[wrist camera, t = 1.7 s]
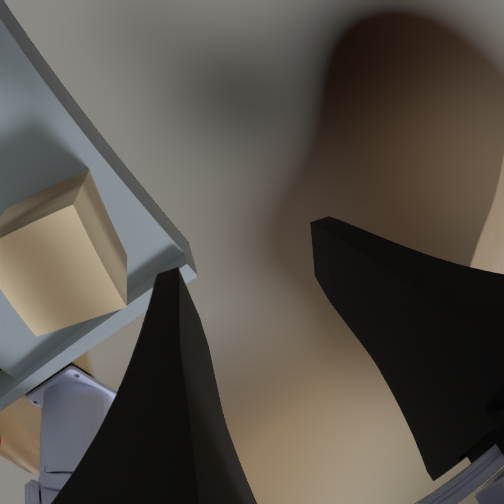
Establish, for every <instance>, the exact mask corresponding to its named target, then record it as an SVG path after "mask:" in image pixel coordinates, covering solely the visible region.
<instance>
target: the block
mask: <svg viewBox="0 0 504 504" xmlns="http://www.w3.org/2000/svg"><path fill="white" fill-rule="evenodd" d="M0 289H1V291H2V292H3V294H4V295H5V296H6V298H7V299H8V301H9V302H10V303H11V305H12V306H13V308H14V309H15V310H16V312H17V313H18V314H19V316H20V317H21V318H22V319H23V321H24V322H25V323H26V325H27V326H28V327H29V328H30V330H31V331H32V332H33V333H34V335H35V336H36V337H37V336H40V335H44V334H47V333H50V332H53V331H56V330H59V329H62V328H65V327H68V326H71V325H74V324H77V323H80V322H84V321H87V320H90V319H93V318H96V317H99V316H102V315H105V314H108V313H111V312H114V311H117V310H120V309H123V308H126V307H127V254H126V252H125V250H124V248H123V246H122V243H121V241H120V239H119V237H118V235H117V233H116V230H115V228H114V226H113V224H112V221H111V219H110V217H109V215H108V212H107V210H106V208H105V205H104V203H103V201H102V198H101V196H100V193H99V191H98V189H97V186H96V184H95V181H94V179H93V176H92V174H91V171H90V169H89V170H87V171H85V172H82V173H80V174H77V175H75V176H73V177H70V178H68V179H66V180H64V181H61V182H59V183H57V184H55V185H53V186H50V187H48V188H46V189H44V190H42V191H40V192H38V193H36V194H34V195H32V196H30V197H28V198H26V199H24V200H22V201H20V202H18V203H16V204H14V205H12V206H10V207H8V208H6V210H5V211H4V212H3V214H2V215H1V216H0Z"/></svg>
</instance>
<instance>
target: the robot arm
mask: <svg viewBox="0 0 504 504" xmlns="http://www.w3.org/2000/svg"><path fill="white" fill-rule="evenodd" d="M310 224H311V235H312V246H313V258H314V270H315V277H316V279H317V280H318V282H319V284H320V286H321V287H322V289H323V291H324V293H325V294H326V296H327V298H328V299H329V301H330V303H331V304H332V305H333V307H334V308H335V309H336V311H337V312H338V313H339V315H340V316H341V317H342V318H343V320H344V321H345V323H346V324H347V325H348V327H349V328H350V329H351V330H352V332H353V333H354V334H355V336H356V337H357V338H358V340H359V341H360V342H361V344H362V345H363V346H364V348H365V349H366V350H367V352H368V353H369V354H370V356H371V357H372V359H373V360H374V362H375V363H376V365H377V366H378V368H379V370H380V372H381V374H382V375H383V377H384V379H385V381H386V382H387V384H388V386H389V388H390V390H391V391H392V393H393V395H394V397H395V399H396V401H397V403H398V405H399V407H400V408H401V411H402V413H403V415H404V417H405V419H406V421H407V423H408V426H409V428H410V430H411V432H412V434H413V437H414V439H415V441H416V444H417V446H418V449H419V451H420V453H421V456H422V459H423V462H424V464H425V467H426V470H427V472H428V474H429V475H430V476H431V478H432V480H433V481H434V480H436V479H438V478H439V477H440V476H442V475H443V474H445V473H446V472H448V471H449V470H450V469H452V468H453V467H454V466H456V465H457V464H458V463H460V462H461V461H462V460H463V459H465V458H466V457H468V459H469V460H470V462H471V464H470V465H469V466H468V467H466V468H465V469H464V470H463V471H461V472H460V473H459V474H457V475H456V476H455V477H453V478H452V479H451V480H449V481H448V482H446V483H445V484H444V485H442V486H441V487H439V488H438V489H436V490H435V491H434V492H432V493H431V494H429V495H427V496H426V497H424V498H423V499H421V500H420V501H418V502H416V503H415V504H458V503H459V502H460V501H462V500H463V499H464V498H466V497H467V496H468V495H469V494H470V493H472V492H473V491H474V490H476V489H477V488H478V487H479V486H480V485H482V484H483V483H484V482H485V481H486V480H487V479H489V478H490V477H491V476H492V475H493V474H494V473H495V472H496V471H498V470H499V469H500V468H501V467H502V466H503V465H504V274H499V273H494V272H489V271H484V270H480V269H475V268H471V267H467V266H463V265H459V264H456V263H452V262H449V261H446V260H442V259H439V258H435V257H432V256H430V255H427V254H424V253H421V252H418V251H416V250H413V249H410V248H407V247H405V246H402V245H399V244H397V243H394V242H392V241H389V240H387V239H385V238H382V237H380V236H377V235H375V234H372V233H370V232H367V231H365V230H363V229H361V228H358V227H356V226H353V225H351V224H348V223H346V222H343V221H341V220H338V219H335V218H332V217H329V216H328V217H325V218H322V219H319V220H316V221H313V222H310ZM27 400H28V401H29V402H31V403H33V404H35V405H36V406H38V407H40V408H42V417H41V433H40V475H39V481H38V482H37V481H35V480H30V482H29V483H27V484H25V504H257V503H256V500H255V498H254V496H253V493H252V491H251V489H250V486H249V484H248V482H247V479H246V476H245V474H244V471H243V469H242V467H241V464H240V461H239V459H238V456H237V453H236V450H235V448H234V445H233V442H232V440H231V437H230V434H229V431H228V428H227V425H226V422H225V418H224V415H223V411H222V407H221V402H220V398H219V393H218V389H217V384H216V379H215V374H214V370H213V365H212V360H211V355H210V350H209V346H208V343H207V339H206V336H205V333H204V330H203V327H202V323H201V320H200V317H199V315H198V313H197V310H196V308H195V306H194V303H193V301H192V299H191V296H190V294H189V292H188V289H187V287H186V284H185V282H184V279H183V277H182V275H181V272H180V270H179V267H176V268H173V269H170V270H167V271H164V272H161V273H158V274H157V276H156V278H155V282H154V286H153V290H152V294H151V298H150V301H149V305H148V309H147V312H146V315H145V319H144V322H143V325H142V328H141V331H140V334H139V338H138V340H137V343H136V346H135V349H134V351H133V354H132V357H131V360H130V363H129V365H128V368H127V370H126V373H125V375H124V378H123V380H122V383H121V385H120V387H119V389H118V392H116V391H114V390H112V389H111V388H109V387H107V386H105V385H104V384H102V383H100V382H99V381H97V380H95V379H94V378H92V377H91V376H89V375H87V374H86V373H84V372H82V371H81V370H79V369H78V368H76V367H74V366H69V367H67V368H65V369H64V370H62V371H61V372H60V373H58V374H57V375H55V376H54V377H52V378H51V379H49V380H48V381H46V382H45V383H43V384H42V385H41V386H39V387H38V388H36V389H35V390H33V391H32V392H30V393H29V394H27ZM475 498H476V499H477V501H476V502H475V503H474V504H504V468H503V469H501V470H500V471H499V472H497V473H496V474H495V475H494V476H493V477H491V478H490V479H489V480H488V481H487V482H486V483H485V484H484V485H483V486H482V487H481V489H480V490H479V491H478V492H477V493H476V494H475Z"/></svg>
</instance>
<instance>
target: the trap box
mask: <svg viewBox="0 0 504 504" xmlns="http://www.w3.org/2000/svg"><path fill="white" fill-rule="evenodd" d="M89 169H90V171H91V174H92V176H93V179H94V181H95V184H96V186H97V189H98V191H99V193H100V196H101V198H102V201H103V203H104V205H105V208H106V210H107V212H108V215H109V217H110V219H111V221H112V224H113V226H114V228H115V230H116V233H117V235H118V237H119V239H120V241H121V243H122V246H123V248H124V250H125V252H126V254H127V307H126V308H123V309H120V310H117V311H114V312H111V313H108V314H105V315H102V316H99V317H96V318H93V319H90V320H87V321H84V322H80V323H77V324H74V325H71V326H68V327H65V328H62V329H59V330H56V331H53V332H50V333H47V334H44V335H40V336H37V337H36V336H35V335H34V333H33V332H32V331H31V330H30V328H29V327H28V326H27V325H26V323H25V322H24V321H23V319H22V318H21V317H20V316H19V314H18V313H17V312H16V310H15V309H14V308H13V306H12V305H11V303H10V302H9V301H8V299H7V298H6V296H5V295H4V294H3V292H2V291H1V289H0V369H2V370H1V371H0V411H2V410H3V409H4V408H6V407H7V406H9V405H10V404H11V403H13V402H14V401H16V400H17V399H19V398H20V397H22V396H23V395H24V394H26V393H27V392H29V391H30V390H32V389H33V388H34V387H36V386H37V385H39V384H40V383H42V382H43V381H45V380H46V379H47V378H49V377H50V376H52V375H53V374H55V373H56V372H58V371H59V370H60V369H62V368H63V367H65V366H66V365H68V364H69V363H71V362H72V361H73V360H75V359H76V358H78V357H79V356H81V355H82V354H84V353H85V352H87V351H88V350H89V349H91V348H92V347H94V346H95V345H97V344H98V343H100V342H101V341H103V340H104V339H106V338H107V337H108V336H110V335H111V334H113V333H114V332H116V331H117V330H119V329H120V328H121V327H123V326H124V325H126V324H128V323H129V322H131V321H132V320H133V319H135V318H136V317H138V316H139V315H141V314H142V313H144V312H145V311H147V309H148V305H149V301H150V298H151V294H152V290H153V286H154V282H155V278H156V276H157V274H158V273H161V272H164V271H167V270H170V269H173V268H176V267H179V270H180V272H181V275H182V277H183V279H184V282H185V284H187V283H188V282H190V281H191V280H193V279H194V278H196V277H197V276H198V274H197V270H196V267H195V263H194V260H193V256H192V253H191V249H190V245H189V242H188V241H187V240H186V238H185V237H184V236H183V235H182V234H181V232H180V231H179V230H178V229H177V228H176V227H175V225H174V224H173V223H172V222H171V221H170V219H169V218H168V217H167V216H166V215H165V213H164V212H163V211H162V210H161V209H160V208H159V206H158V205H157V204H156V203H155V201H154V200H153V199H152V198H151V197H150V195H149V194H148V193H147V192H146V190H145V189H144V188H143V187H142V186H141V185H140V183H139V182H138V181H137V180H136V178H135V177H134V176H133V174H132V173H131V172H130V171H129V170H128V168H127V167H126V166H125V165H124V163H123V162H122V161H121V160H120V158H119V157H118V156H117V155H116V153H115V152H114V151H113V149H112V148H111V147H110V146H109V144H108V143H107V142H106V141H105V139H104V138H103V137H102V135H101V134H100V133H99V132H98V130H97V129H96V128H95V126H93V124H92V123H91V121H90V120H89V119H88V117H87V116H86V115H85V114H84V112H83V111H82V109H81V108H80V107H79V106H78V104H77V103H76V102H75V100H74V99H73V98H72V96H71V95H70V94H69V92H68V91H67V90H66V88H65V87H64V86H63V84H62V83H61V82H60V80H59V79H58V77H57V76H56V75H55V73H54V72H53V71H52V69H51V68H50V67H49V65H48V64H47V63H46V61H45V60H44V58H43V57H42V56H41V54H40V53H39V51H38V50H37V48H36V47H35V46H34V44H33V43H32V41H31V40H30V39H29V37H28V36H27V34H26V33H25V31H24V30H23V28H22V27H21V26H20V24H19V23H18V21H17V20H16V18H15V17H14V15H13V14H12V12H11V11H10V9H9V8H8V6H7V5H6V3H5V2H4V0H0V216H1V215H2V214H3V212H4V211H5V210H6V208H8V207H10V206H12V205H14V204H16V203H18V202H20V201H22V200H24V199H26V198H28V197H30V196H32V195H34V194H36V193H38V192H40V191H42V190H44V189H46V188H48V187H50V186H53V185H55V184H57V183H59V182H61V181H64V180H66V179H68V178H70V177H73V176H75V175H77V174H80V173H82V172H85V171H87V170H89Z"/></svg>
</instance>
